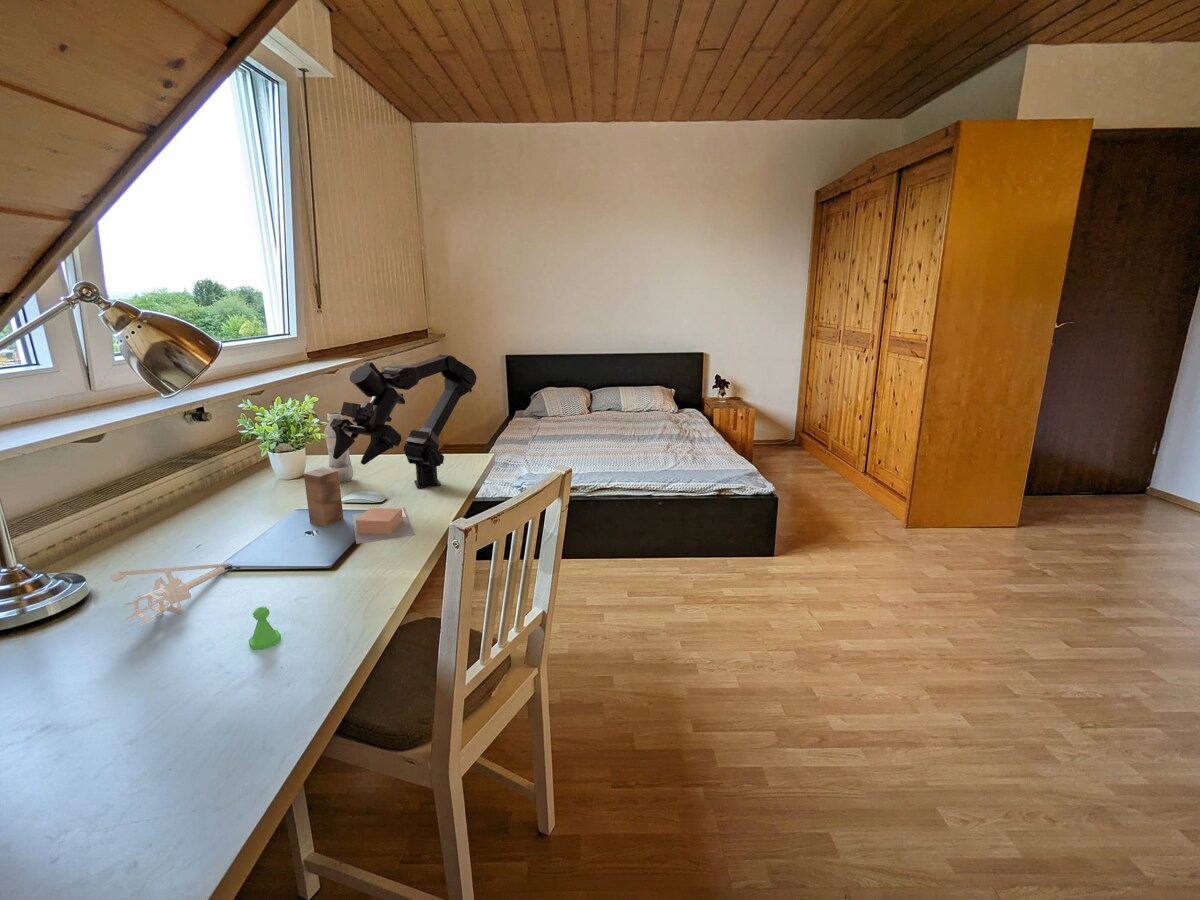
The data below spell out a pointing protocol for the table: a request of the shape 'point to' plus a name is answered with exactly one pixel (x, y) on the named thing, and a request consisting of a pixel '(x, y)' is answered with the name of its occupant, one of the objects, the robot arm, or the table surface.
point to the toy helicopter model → (168, 589)
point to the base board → (400, 531)
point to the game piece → (263, 631)
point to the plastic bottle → (338, 464)
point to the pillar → (323, 496)
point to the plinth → (379, 521)
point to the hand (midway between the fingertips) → (348, 461)
